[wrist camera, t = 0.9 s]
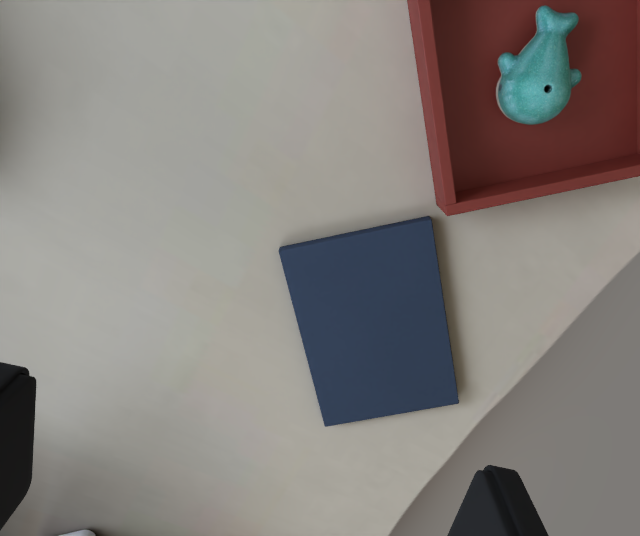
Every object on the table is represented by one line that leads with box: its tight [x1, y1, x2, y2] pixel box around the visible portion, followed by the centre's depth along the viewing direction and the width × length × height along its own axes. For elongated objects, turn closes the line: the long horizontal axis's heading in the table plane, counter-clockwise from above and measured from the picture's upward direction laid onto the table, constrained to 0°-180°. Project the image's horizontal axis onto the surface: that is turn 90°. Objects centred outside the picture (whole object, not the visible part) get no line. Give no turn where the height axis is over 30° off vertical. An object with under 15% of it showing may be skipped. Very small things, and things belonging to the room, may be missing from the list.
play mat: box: [279, 216, 459, 427], centre depth 42 cm, size 17×12×1 cm
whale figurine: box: [496, 5, 582, 125], centre depth 33 cm, size 6×7×4 cm
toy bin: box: [407, 0, 640, 216], centre depth 33 cm, size 17×16×4 cm
